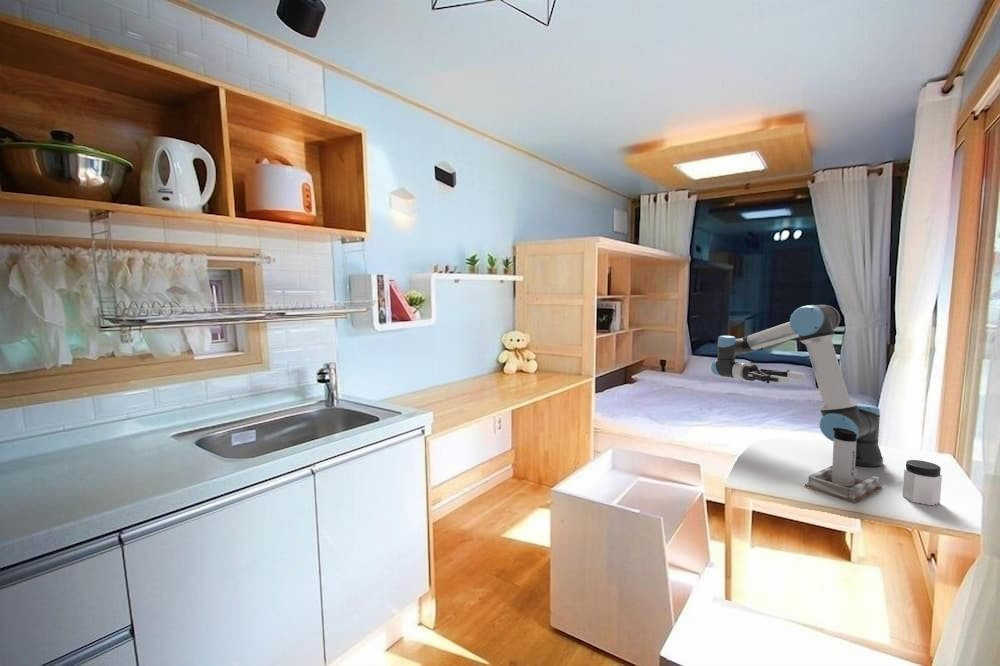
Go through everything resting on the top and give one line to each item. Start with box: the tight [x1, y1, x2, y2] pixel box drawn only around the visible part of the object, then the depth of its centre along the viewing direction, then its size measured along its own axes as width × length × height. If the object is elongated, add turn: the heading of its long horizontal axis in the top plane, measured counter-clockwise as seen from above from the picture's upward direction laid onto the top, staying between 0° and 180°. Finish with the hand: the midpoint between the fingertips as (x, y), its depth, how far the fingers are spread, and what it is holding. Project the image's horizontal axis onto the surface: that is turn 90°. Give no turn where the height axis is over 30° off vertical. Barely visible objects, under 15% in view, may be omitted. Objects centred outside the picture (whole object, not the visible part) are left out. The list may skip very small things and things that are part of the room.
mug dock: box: [804, 465, 883, 504], centre depth 156 cm, size 20×15×4 cm
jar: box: [902, 459, 943, 506], centre depth 146 cm, size 9×8×12 cm
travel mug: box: [831, 428, 857, 488], centre depth 155 cm, size 6×7×20 cm
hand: (796, 378), depth 186 cm, fingers open, 13 cm apart
